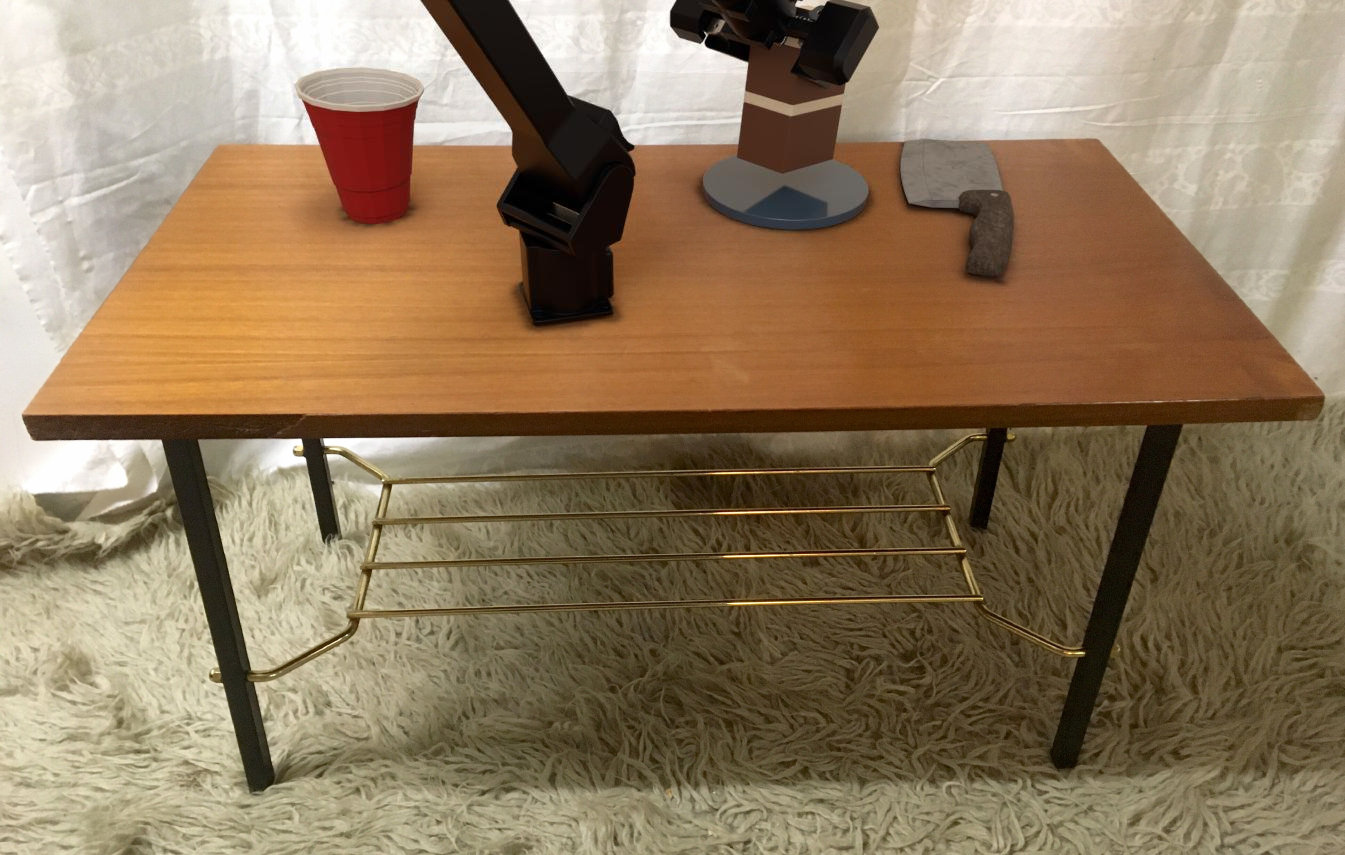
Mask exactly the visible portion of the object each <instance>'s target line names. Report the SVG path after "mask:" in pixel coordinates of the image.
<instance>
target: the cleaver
mask: <svg viewBox="0 0 1345 855" xmlns="http://www.w3.org/2000/svg"><path fill="white" fill-rule="evenodd" d="M899 161H900V162H899V163H900V164H899V171H900V172H899V173H900V180H901V184H902V188H903V191H904V194H905V197H906V200H907V202H908V204H911V205H917V206H921V207H928V208H938V209H939V208H942V209H958V210H959V211H960V212H961V213H964V214H968V215H972V216H975V219H974V220H973V221H972V223H971V224H970V226H969V227H970V228H969V232H968V233H969V234H968V236H969V242H970V245H971V246H972V249H971V250H970V252H969V254H967V258H966V262H965V270H966V272H968V273H971V274H973V275H981V276H990V277H995V276H996V277H997V276H1001V275H1002V274H1003V273H1004V272H1005V270H1006V269H1007V267H1008V264H1009V260H1010V256H1011V252H1012V248H1013V247H1012V246H1013V239H1014V238H1013V237H1014V225H1015V224H1014V223H1015V221H1014V220H1015V219H1014V217H1015V216H1014V208H1013V202H1012V199H1011V196H1010V194H1009V192H1008V191H1006V190H1004V187H1003V183H1002V180H1001V179H1002V178H1001V174H1000V171H999V167H998V163H997V160H996V157H995V155H994V153H993V151H992V149H991V148H990V145H989V144H988V142H976V141H963V140H962V141H961V140H946V139H933V138H932V139H931V138H920V139H911V140H905V141H904V144H903V146H902V150H901V154H900V160H899Z"/></svg>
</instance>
